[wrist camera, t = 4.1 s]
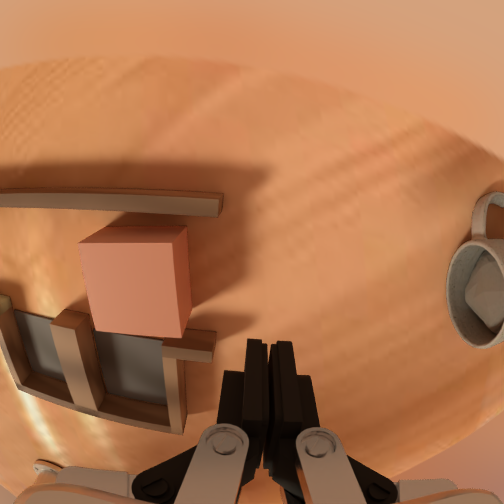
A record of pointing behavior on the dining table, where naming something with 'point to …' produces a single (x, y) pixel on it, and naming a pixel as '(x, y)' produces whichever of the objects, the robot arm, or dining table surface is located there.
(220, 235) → the dining table surface
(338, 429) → the dining table surface
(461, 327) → the ceramic mug
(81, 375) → the trap run
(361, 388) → the dining table surface
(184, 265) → the block
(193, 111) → the dining table surface
